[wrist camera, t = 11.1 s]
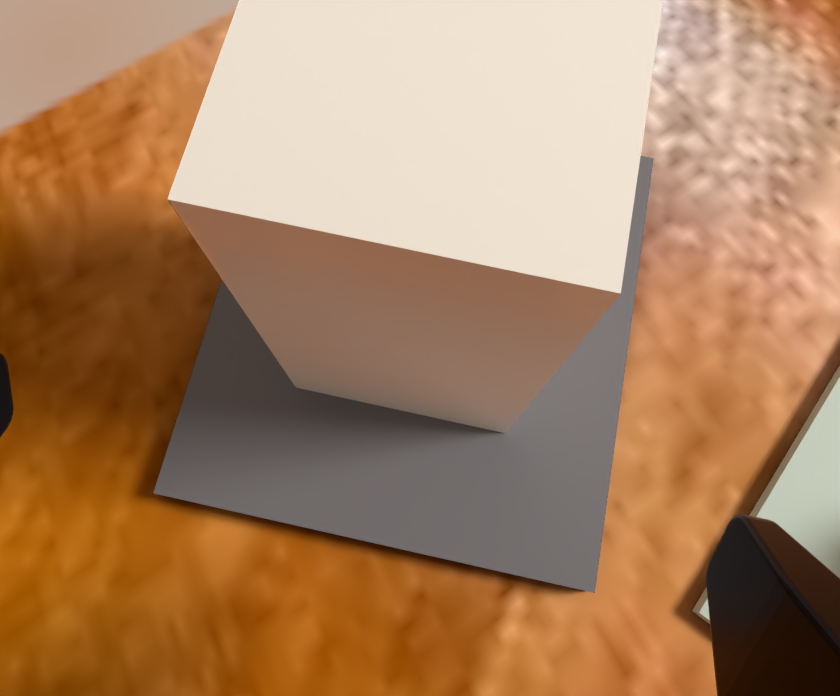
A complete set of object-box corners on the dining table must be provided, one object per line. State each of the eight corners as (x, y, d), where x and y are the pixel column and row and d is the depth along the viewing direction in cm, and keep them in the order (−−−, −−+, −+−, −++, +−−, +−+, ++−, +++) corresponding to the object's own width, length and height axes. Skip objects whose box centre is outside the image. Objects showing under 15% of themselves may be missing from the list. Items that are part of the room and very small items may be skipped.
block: (505, 433, 16) (620, 294, 7) (295, 387, 16) (168, 199, 8) (540, 240, 17) (672, -68, 9) (347, 200, 18) (289, -139, 9)
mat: (587, 591, 16) (594, 593, 15) (162, 495, 16) (152, 493, 15) (646, 170, 19) (653, 158, 18) (287, 99, 19) (284, 85, 18)
